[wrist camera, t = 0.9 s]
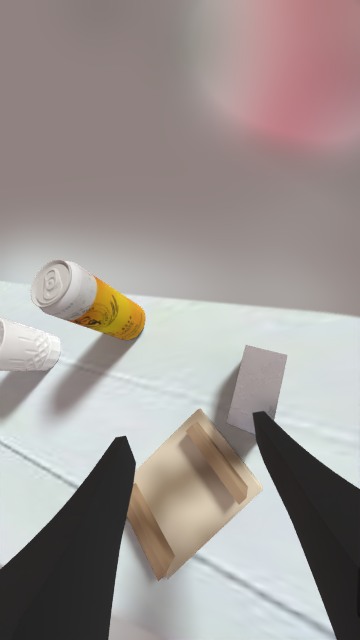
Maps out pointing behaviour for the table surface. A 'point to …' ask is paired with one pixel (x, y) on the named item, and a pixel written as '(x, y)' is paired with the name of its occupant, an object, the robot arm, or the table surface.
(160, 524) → the birch cradle
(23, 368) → the white cup
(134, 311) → the beer can
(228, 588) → the table surface
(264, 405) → the aluminium block
